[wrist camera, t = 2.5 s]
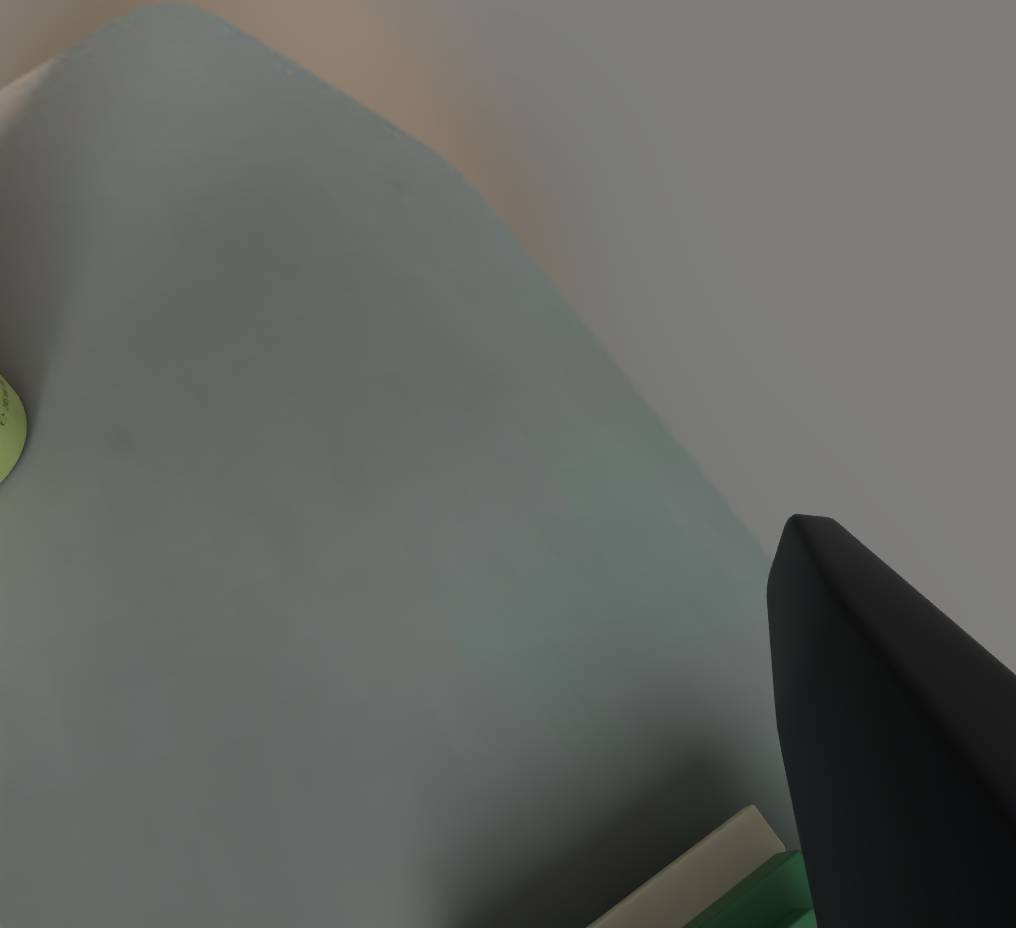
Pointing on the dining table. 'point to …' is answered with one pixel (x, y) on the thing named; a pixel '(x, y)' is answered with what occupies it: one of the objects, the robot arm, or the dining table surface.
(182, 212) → the dining table surface
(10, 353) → the dining table surface
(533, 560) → the dining table surface
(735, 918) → the stack of green books
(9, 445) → the tube
